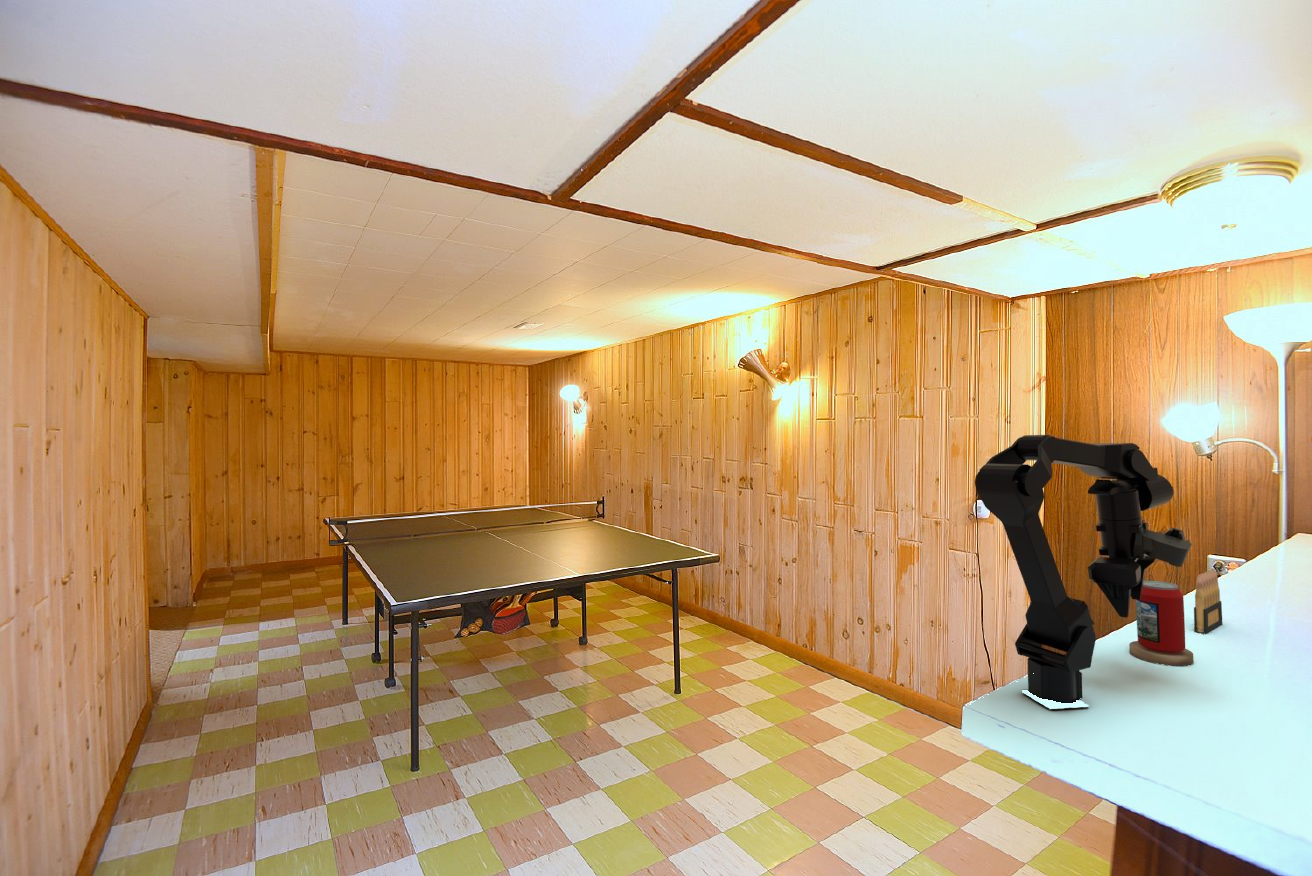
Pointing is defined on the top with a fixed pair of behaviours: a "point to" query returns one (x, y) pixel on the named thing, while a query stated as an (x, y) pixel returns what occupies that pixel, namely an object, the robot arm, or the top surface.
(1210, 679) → the top surface
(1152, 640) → the beverage can
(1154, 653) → the coaster
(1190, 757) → the top surface
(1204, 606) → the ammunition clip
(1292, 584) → the top surface
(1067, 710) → the top surface
